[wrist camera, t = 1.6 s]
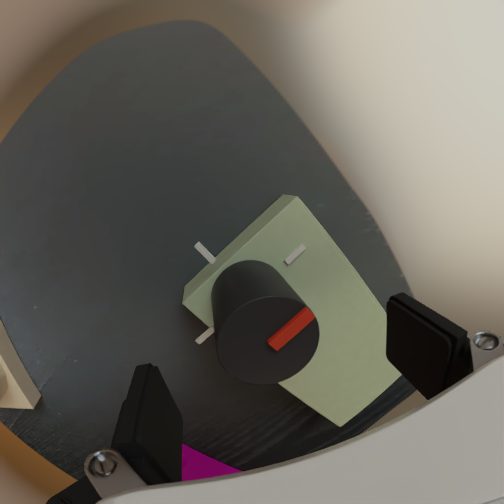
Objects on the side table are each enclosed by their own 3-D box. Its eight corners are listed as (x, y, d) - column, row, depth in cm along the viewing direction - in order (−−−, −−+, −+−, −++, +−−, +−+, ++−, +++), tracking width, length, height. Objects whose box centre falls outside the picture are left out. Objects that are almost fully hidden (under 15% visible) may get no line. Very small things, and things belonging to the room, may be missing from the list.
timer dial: (246, 342, 17) (266, 403, 12) (195, 296, 16) (193, 350, 11) (299, 295, 17) (340, 342, 12) (251, 243, 16) (278, 275, 11)
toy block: (127, 454, 22) (119, 510, 15) (162, 432, 22) (159, 496, 15) (229, 498, 26) (237, 543, 19) (266, 480, 26) (280, 528, 19)
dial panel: (152, 278, 19) (144, 296, 16) (264, 172, 18) (276, 170, 15) (318, 414, 24) (330, 436, 21) (398, 344, 24) (417, 360, 21)
